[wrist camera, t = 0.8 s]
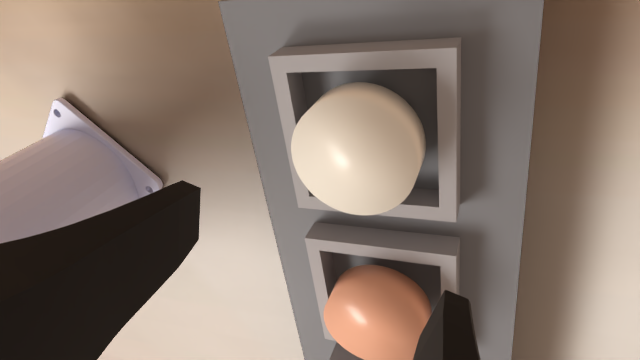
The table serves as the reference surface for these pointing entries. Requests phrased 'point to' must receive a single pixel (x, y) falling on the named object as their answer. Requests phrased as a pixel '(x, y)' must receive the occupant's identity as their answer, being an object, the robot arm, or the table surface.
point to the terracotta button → (377, 313)
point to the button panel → (440, 157)
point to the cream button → (359, 148)
